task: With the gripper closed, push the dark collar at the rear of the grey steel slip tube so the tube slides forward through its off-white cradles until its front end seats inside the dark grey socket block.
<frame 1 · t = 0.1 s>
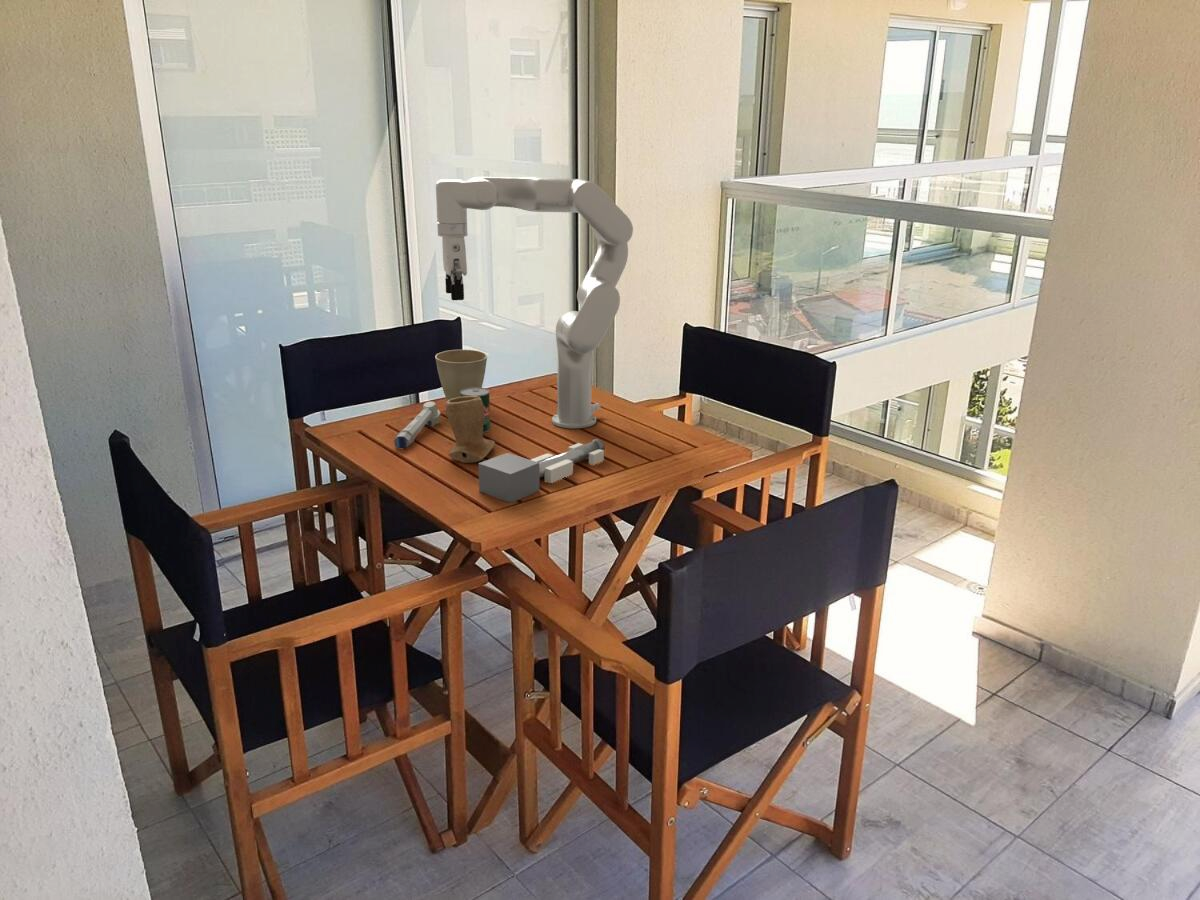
hand: (454, 296, 245), 37 cm above the table, tool pointing down, fingers open, 9 cm apart
slip tube: (567, 458, 233), point 2 cm above the table, slide at 0.0 cm
cradles: (549, 474, 228), on the table
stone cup: (468, 455, 241), on the table
white handheld tool: (418, 435, 255), on the table
socket block: (511, 490, 219), on the table
plant pot: (463, 408, 277), on the table
canned tomato: (476, 430, 259), on the table
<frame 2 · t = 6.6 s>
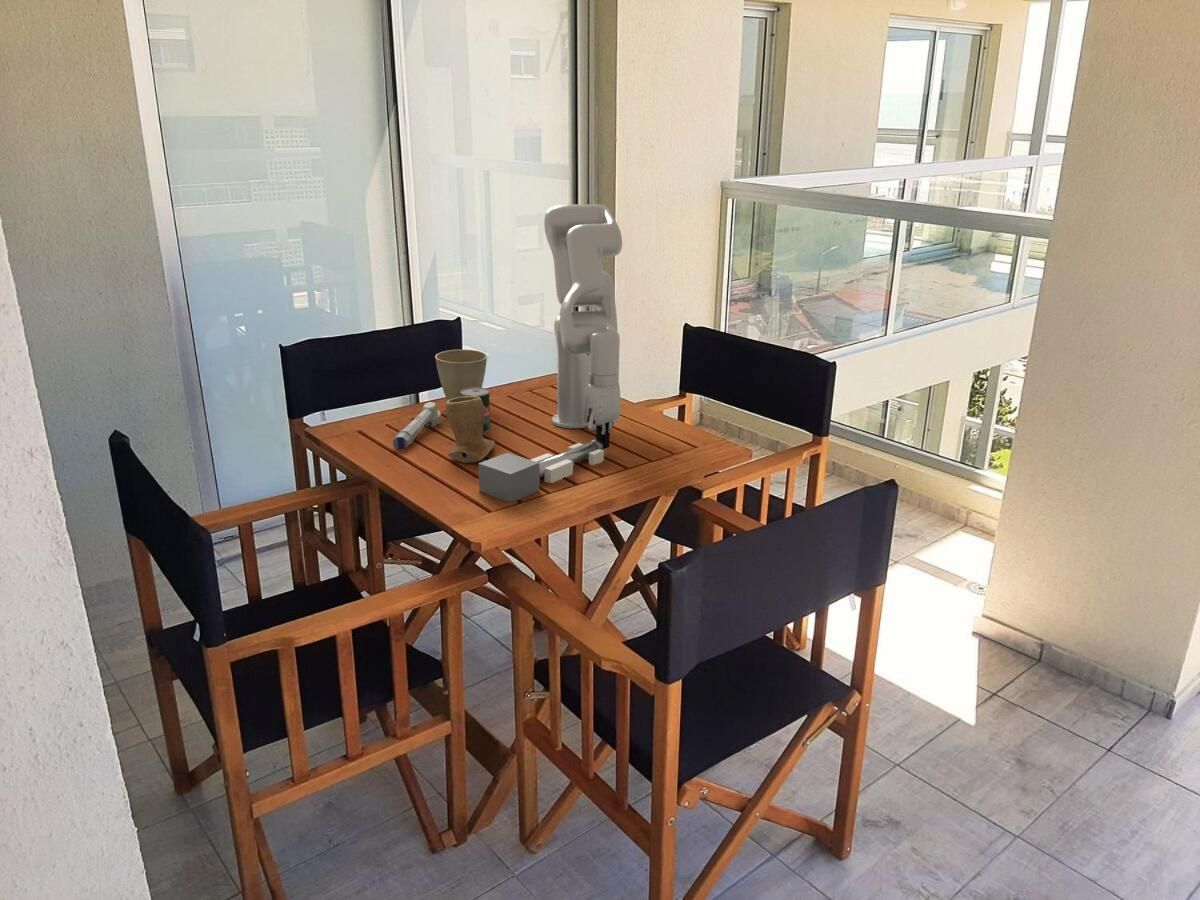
hand: (602, 447, 243), 2 cm above the table, tool pointing down, fingers closed
slip tube: (566, 459, 232), point 2 cm above the table, slide at 0.5 cm, touching gripper
everything else where it was.
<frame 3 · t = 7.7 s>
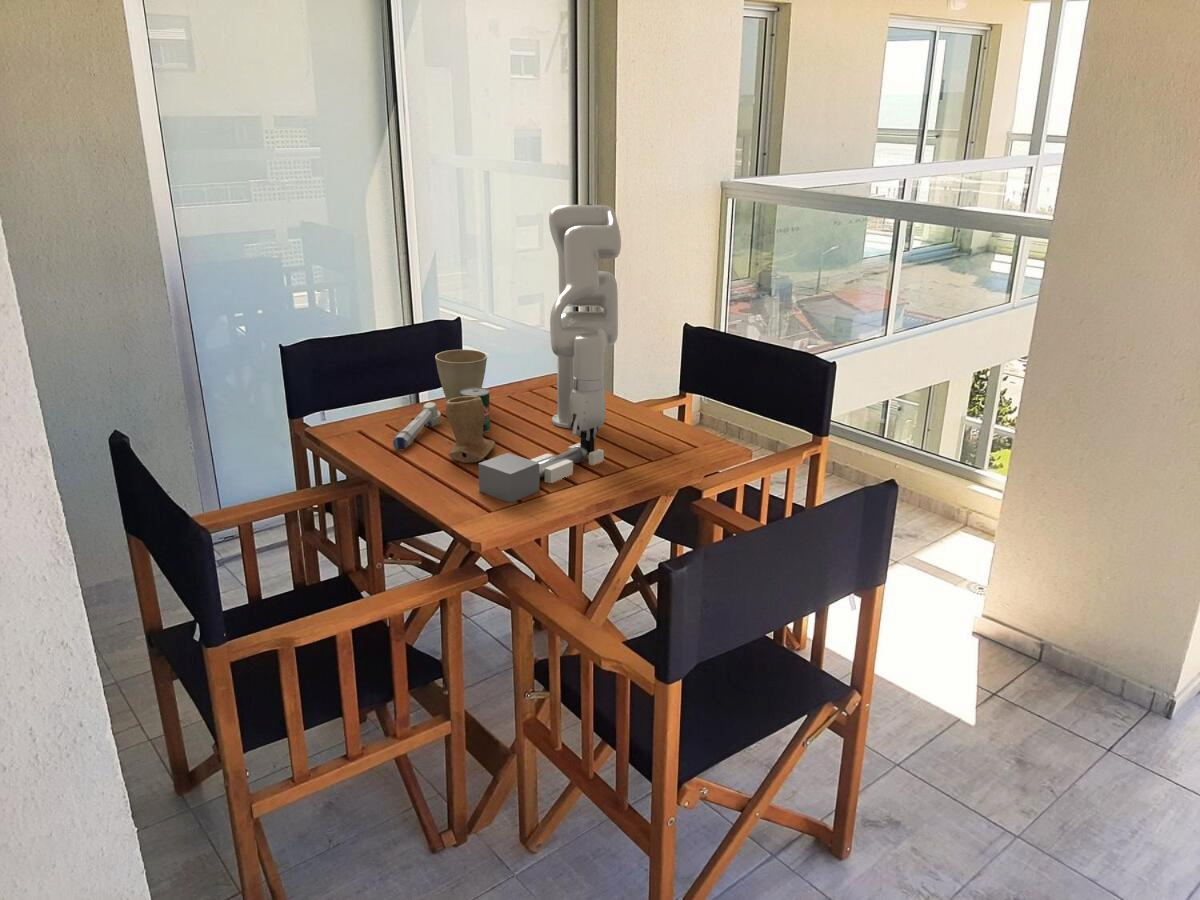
hand: (587, 453, 238), 2 cm above the table, tool pointing down, fingers closed
slip tube: (550, 465, 228), point 2 cm above the table, slide at 6.7 cm, touching gripper
everything else where it was.
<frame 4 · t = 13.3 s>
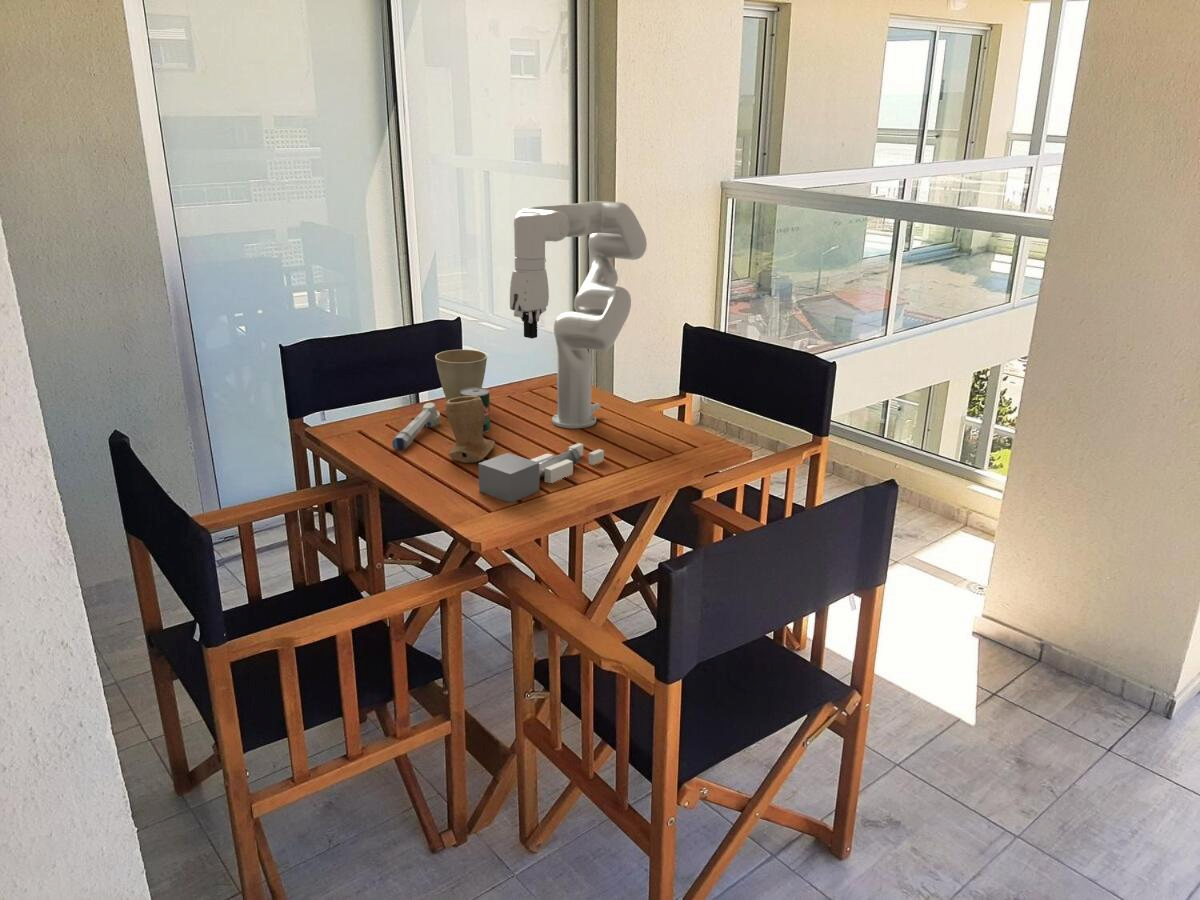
hand: (530, 337, 238), 29 cm above the table, tool pointing down, fingers closed
slip tube: (541, 469, 225), point 2 cm above the table, slide at 9.7 cm
at the end: slip tube slide at 9.7 cm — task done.
